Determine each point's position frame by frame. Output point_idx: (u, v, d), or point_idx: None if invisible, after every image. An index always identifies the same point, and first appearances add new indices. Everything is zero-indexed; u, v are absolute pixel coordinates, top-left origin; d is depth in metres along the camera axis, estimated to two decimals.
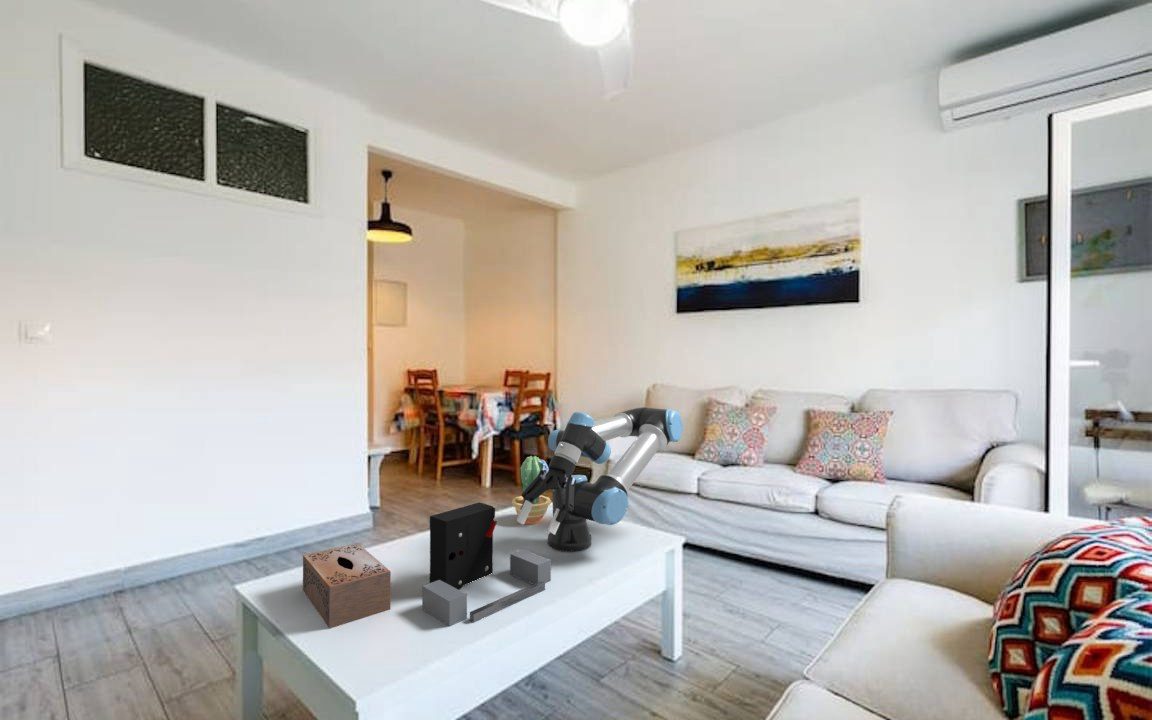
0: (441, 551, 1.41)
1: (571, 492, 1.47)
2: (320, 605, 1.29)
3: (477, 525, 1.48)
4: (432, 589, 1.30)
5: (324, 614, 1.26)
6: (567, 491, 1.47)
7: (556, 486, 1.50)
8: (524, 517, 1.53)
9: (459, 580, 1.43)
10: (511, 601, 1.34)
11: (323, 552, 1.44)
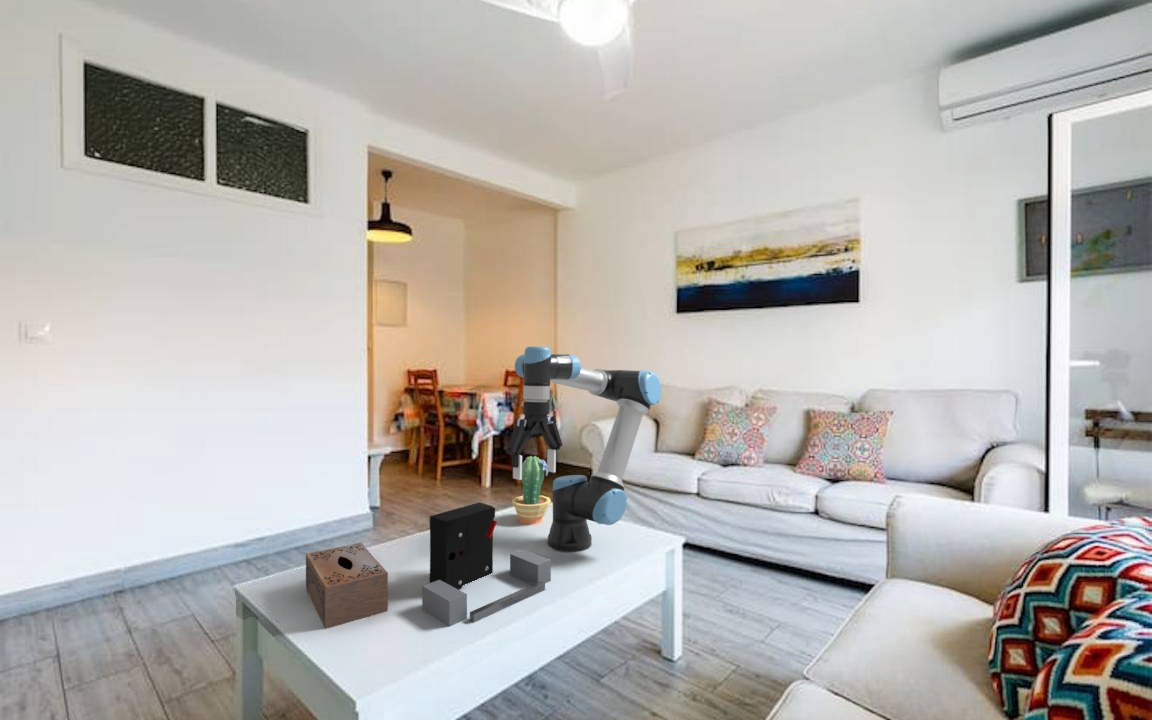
0: (441, 551, 1.41)
1: (515, 434, 1.42)
2: (318, 605, 1.29)
3: (477, 525, 1.48)
4: (432, 589, 1.30)
5: (321, 614, 1.26)
6: None
7: None
8: (551, 465, 1.53)
9: (459, 580, 1.43)
10: (511, 601, 1.34)
11: (326, 551, 1.45)
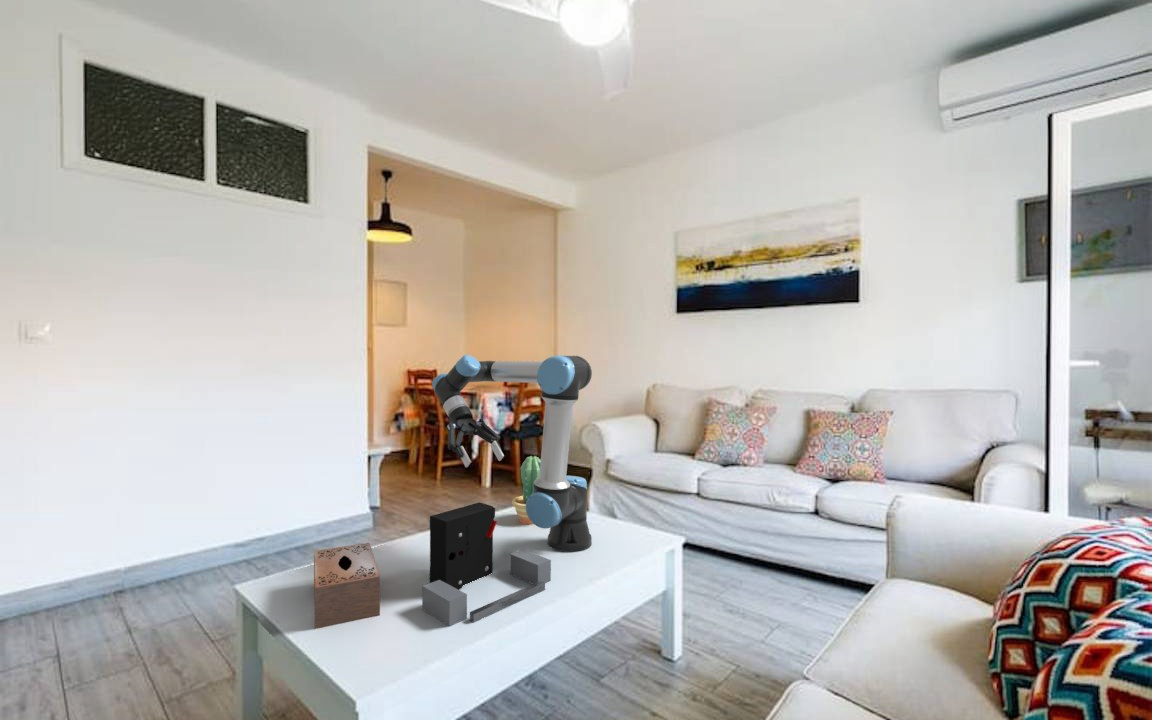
0: (441, 551, 1.41)
1: (449, 434, 1.70)
2: None
3: (477, 525, 1.48)
4: (432, 589, 1.30)
5: None
6: None
7: None
8: (498, 453, 1.76)
9: (459, 580, 1.43)
10: (511, 601, 1.34)
11: (333, 549, 1.46)
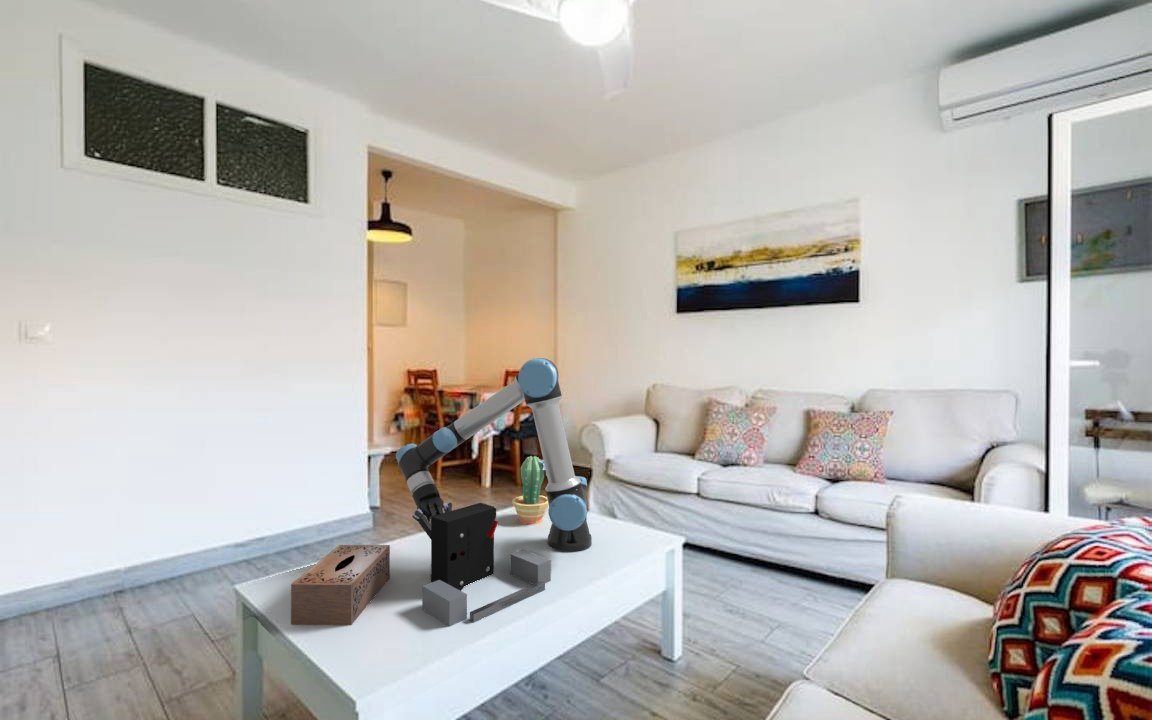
0: (442, 552, 1.40)
1: (423, 525, 1.52)
2: None
3: (478, 525, 1.47)
4: (432, 589, 1.30)
5: None
6: None
7: None
8: None
9: (460, 581, 1.43)
10: (511, 601, 1.34)
11: (354, 546, 1.48)
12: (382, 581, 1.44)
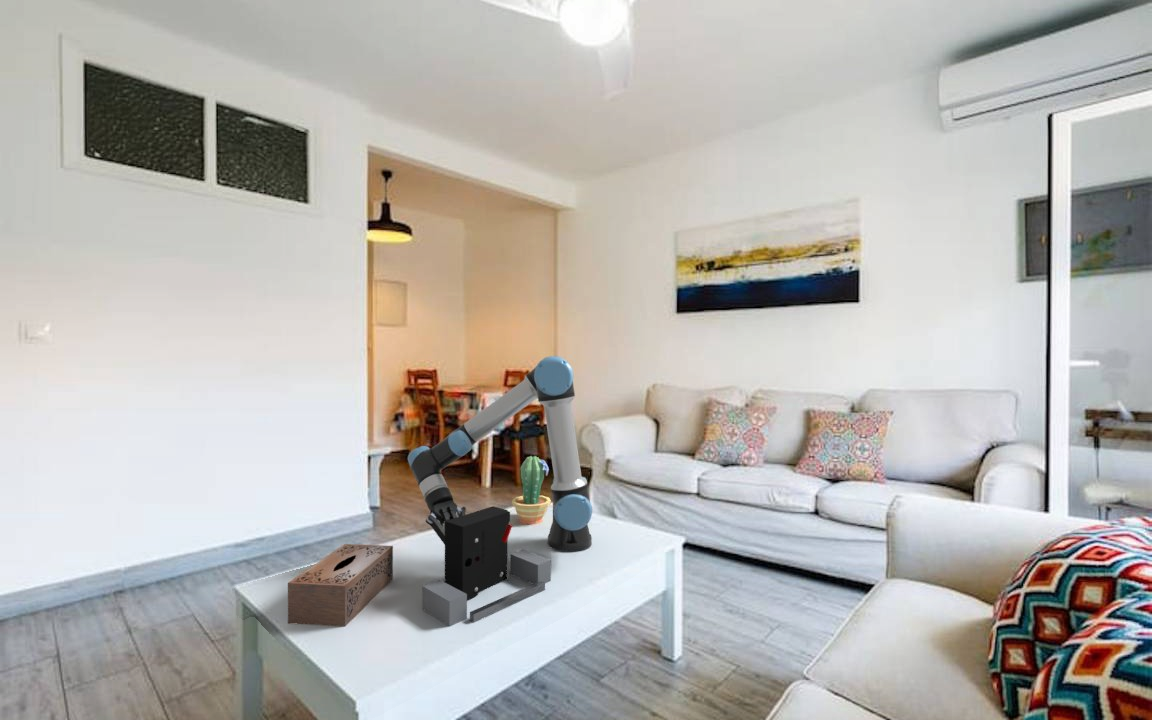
0: (457, 557, 1.36)
1: (437, 529, 1.48)
2: None
3: (493, 530, 1.44)
4: (432, 589, 1.30)
5: None
6: None
7: None
8: None
9: (475, 587, 1.39)
10: (511, 601, 1.34)
11: (357, 546, 1.48)
12: (383, 582, 1.44)
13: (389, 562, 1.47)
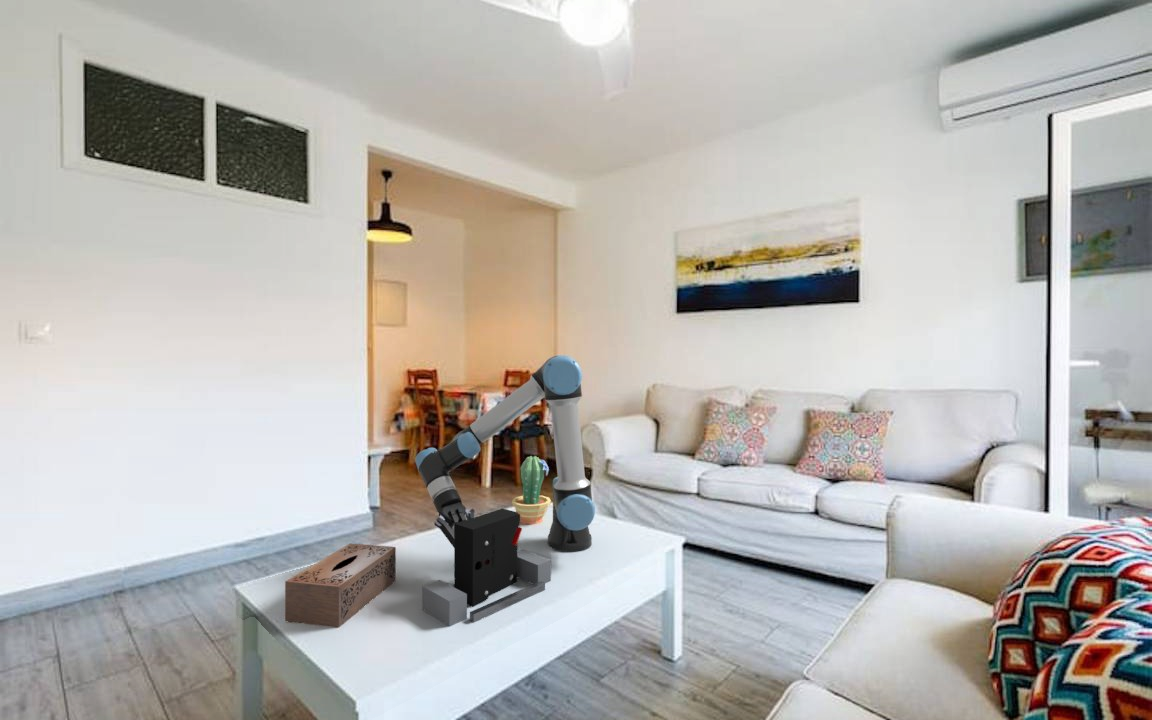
0: (467, 560, 1.35)
1: (446, 532, 1.46)
2: None
3: (503, 532, 1.42)
4: (432, 589, 1.30)
5: None
6: None
7: None
8: None
9: (485, 590, 1.37)
10: (511, 601, 1.34)
11: (361, 546, 1.49)
12: (384, 583, 1.43)
13: (391, 563, 1.46)
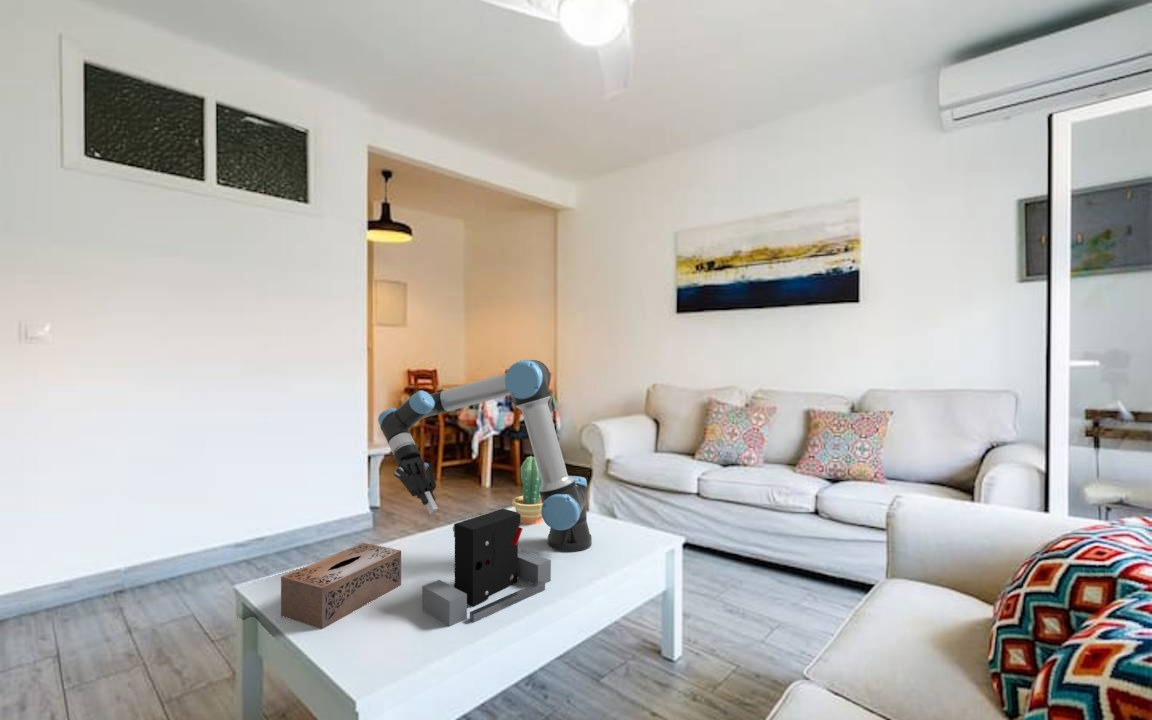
0: (467, 560, 1.34)
1: (404, 481, 1.59)
2: None
3: (503, 532, 1.42)
4: (432, 589, 1.30)
5: None
6: None
7: None
8: None
9: (485, 590, 1.37)
10: (511, 601, 1.34)
11: (371, 547, 1.48)
12: (386, 587, 1.41)
13: (395, 567, 1.44)
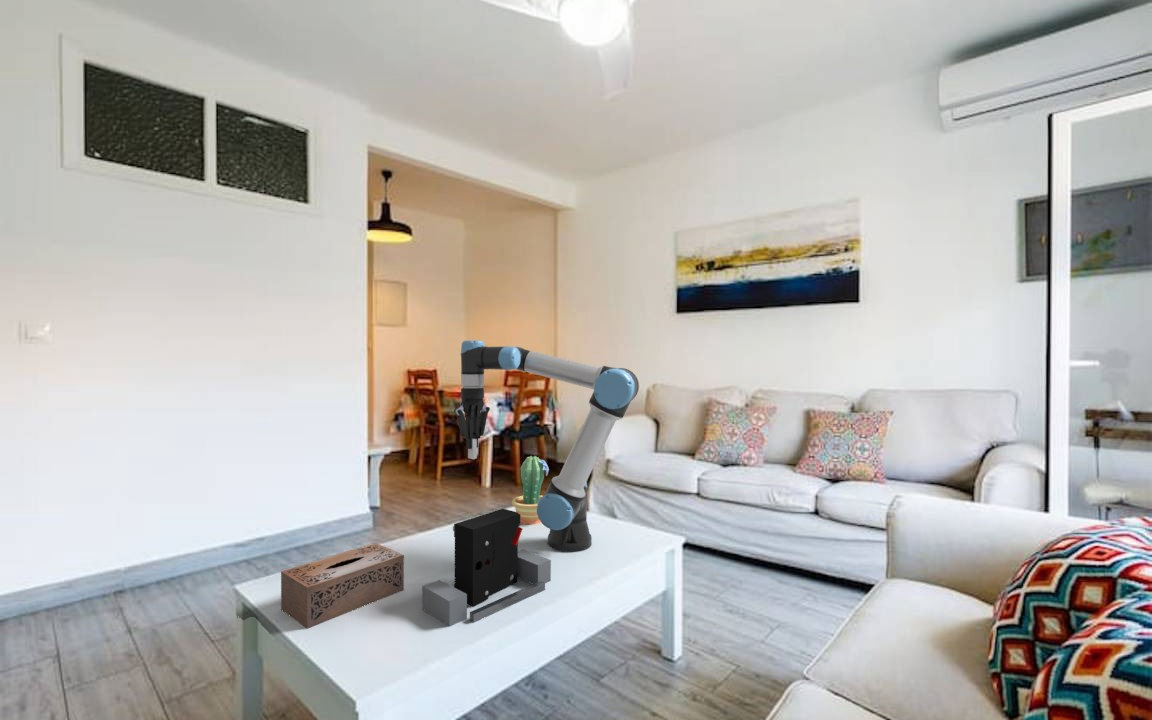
0: (467, 560, 1.34)
1: (460, 423, 1.68)
2: None
3: (503, 532, 1.42)
4: (432, 589, 1.30)
5: None
6: None
7: None
8: None
9: (485, 590, 1.37)
10: (511, 601, 1.34)
11: (379, 548, 1.47)
12: (385, 591, 1.38)
13: (396, 571, 1.41)
